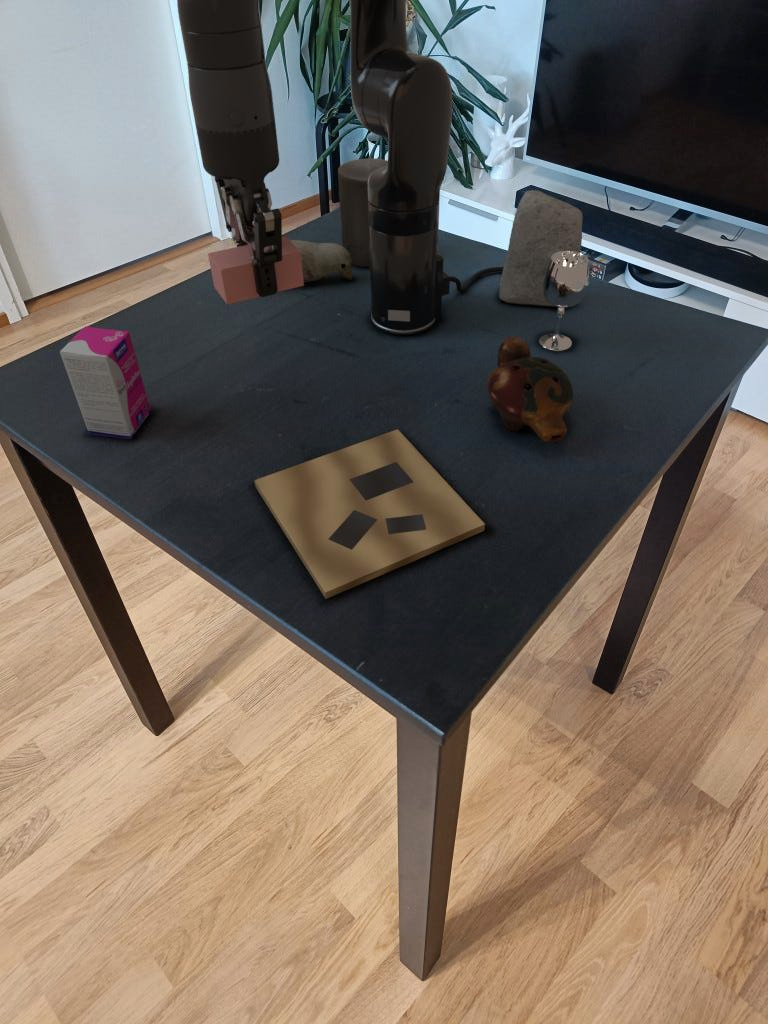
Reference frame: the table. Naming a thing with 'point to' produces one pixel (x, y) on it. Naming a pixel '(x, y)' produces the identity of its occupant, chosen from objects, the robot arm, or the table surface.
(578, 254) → the wineglass
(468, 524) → the board
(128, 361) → the supplement box
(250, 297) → the eraser
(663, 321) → the table surface
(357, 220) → the pillar candle
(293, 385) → the table surface
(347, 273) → the decorative bird
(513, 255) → the decorative stone
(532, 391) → the brown ceramic rounded figure
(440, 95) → the robot arm
